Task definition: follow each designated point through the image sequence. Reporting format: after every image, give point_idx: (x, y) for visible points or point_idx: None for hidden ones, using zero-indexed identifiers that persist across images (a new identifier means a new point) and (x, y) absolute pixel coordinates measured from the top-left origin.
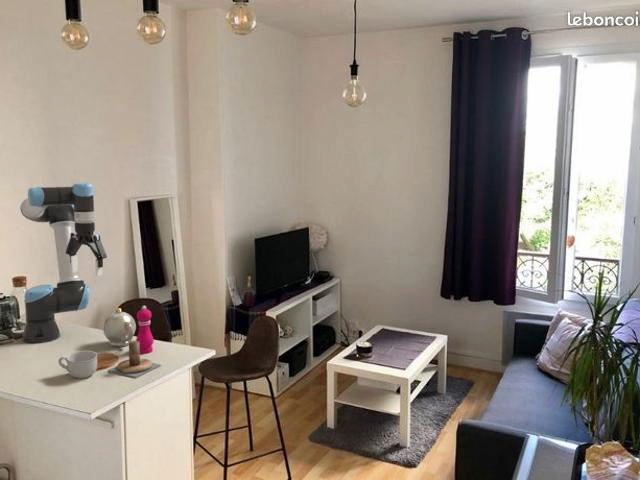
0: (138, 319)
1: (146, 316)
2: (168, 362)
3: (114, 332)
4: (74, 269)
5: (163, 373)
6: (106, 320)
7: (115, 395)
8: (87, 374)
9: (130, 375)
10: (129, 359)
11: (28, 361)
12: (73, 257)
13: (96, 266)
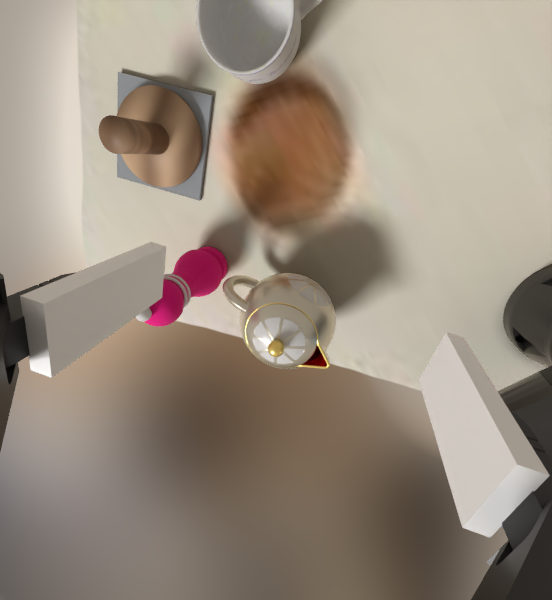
0: (172, 283)
1: None
2: (119, 205)
3: (276, 275)
4: (440, 363)
5: (85, 130)
6: (310, 308)
7: None
8: (226, 6)
9: (135, 76)
10: (153, 125)
11: (508, 94)
12: (492, 468)
13: (94, 268)
